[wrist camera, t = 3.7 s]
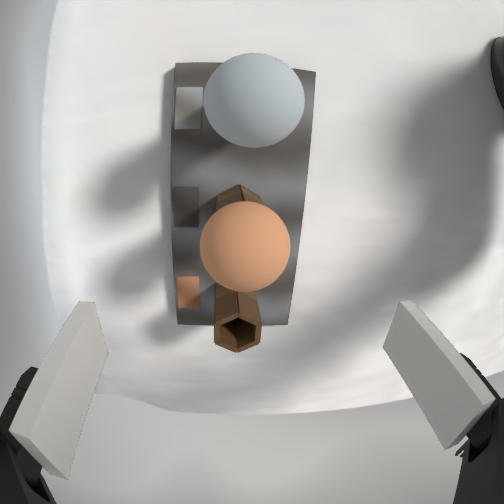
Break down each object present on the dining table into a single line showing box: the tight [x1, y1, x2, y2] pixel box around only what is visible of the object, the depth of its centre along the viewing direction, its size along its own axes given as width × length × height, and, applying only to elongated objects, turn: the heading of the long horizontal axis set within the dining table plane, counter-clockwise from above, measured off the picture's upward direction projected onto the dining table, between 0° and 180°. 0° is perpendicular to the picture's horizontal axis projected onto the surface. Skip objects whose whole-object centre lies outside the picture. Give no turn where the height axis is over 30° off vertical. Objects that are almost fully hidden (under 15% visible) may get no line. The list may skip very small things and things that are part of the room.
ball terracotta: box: [200, 201, 290, 292], centre depth 20 cm, size 6×6×6 cm
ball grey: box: [204, 53, 305, 148], centre depth 16 cm, size 6×6×6 cm
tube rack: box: [171, 62, 316, 353], centre depth 26 cm, size 28×13×8 cm, turn 177°
